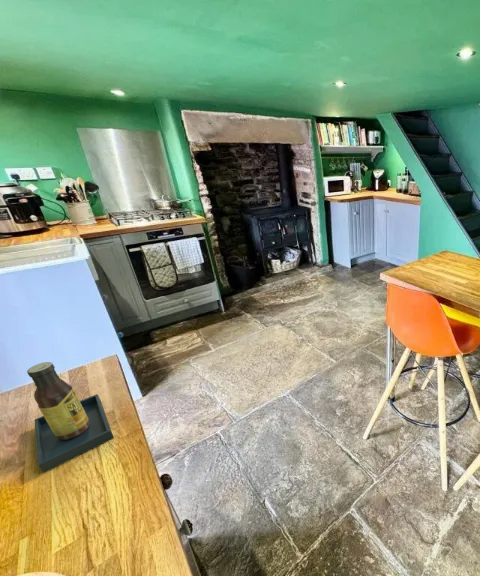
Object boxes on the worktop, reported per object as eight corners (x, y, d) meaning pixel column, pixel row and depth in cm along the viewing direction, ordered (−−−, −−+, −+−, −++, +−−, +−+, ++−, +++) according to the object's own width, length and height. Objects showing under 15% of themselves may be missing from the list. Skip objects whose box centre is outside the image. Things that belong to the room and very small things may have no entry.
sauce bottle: (88, 434, 75) (54, 370, 67) (54, 446, 72) (13, 381, 64) (93, 416, 80) (61, 355, 72) (60, 427, 77) (24, 364, 69)
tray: (38, 426, 77) (34, 419, 76) (100, 400, 86) (97, 393, 85) (43, 472, 67) (38, 465, 66) (113, 437, 75) (110, 430, 74)
